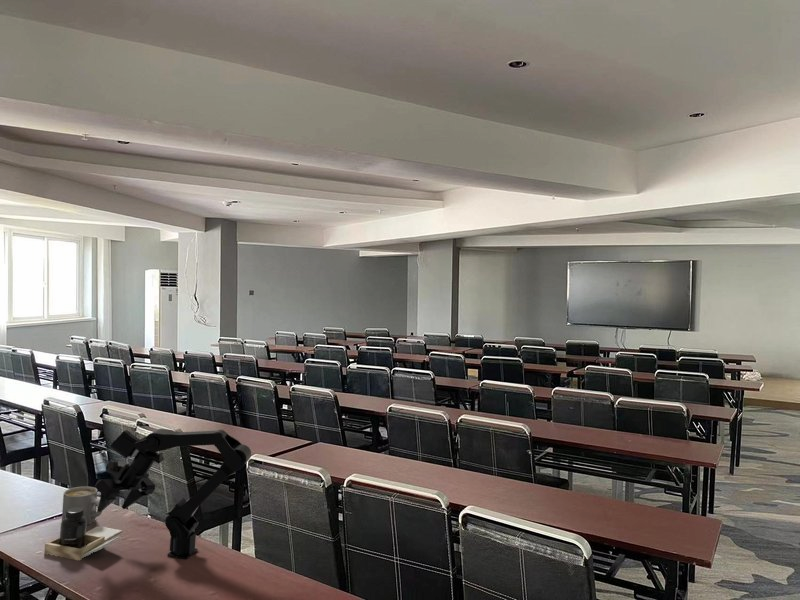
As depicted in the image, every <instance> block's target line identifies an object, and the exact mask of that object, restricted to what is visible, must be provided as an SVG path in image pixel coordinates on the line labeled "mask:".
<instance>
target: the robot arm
mask: <svg viewBox="0 0 800 600" xmlns="http://www.w3.org/2000/svg"><path fill="white" fill-rule="evenodd" d="M193 446H194V447H195V446H197V447H198V446H200V447H201V446H215V448H216V449H217V451H218V452H219V453H220V454H221V456H222V457H223V458H224V460H223V461H222V463H221V465H220V467H219V468H218V469H217V470H216V471H215V472H214V473H213V474H212V475H211V476H210V478H209V479H207V480H206V481H205V483H203V484H202V486H201V487H199V489H198V490H196V492H195V493H194V494H193V495H192V496H190V497H189V498H188V499H185V497H182V498H181V499H180V500H179V501H178V502H177V503H176V504H175V505H174V506H173V507H172V508H171V509H170V510H169V511H168V512H167V513H166V515H167V516H166V517H165V520H164V522H165V527H166V528H167V530H168V532H169V535H170V539H169V552H168V553H167V557H172V558H176V559H177V558H179V559H183V560H186V559H187V560H188V558H191V556H193V555H194V554H195V553H197V552H198V548H196V540H197V539H196V538H197V532H195V531H194V530H195V529H197V527H198V525H199V521H198V519H197V518H196V517H195V515H194V514H195V513H196V511H197V510H198V508H199V507H200V506H201V504H203V502H205V501H206V500H207V498H208V497H209V496H211V494H212V493H213V492H214V491H215V490H216V489H217V488H218V487H219V486H221V484H223V482H224V481H225V480H227V478H229V476H231V475H233V474H235V473H236V472H237V471H239V470H240V469H242V468H243V467H244V466H245V465H246V464H247V462H249V460H250V459H251V457H252V451H251V449H250V447H249V446H248V445H246V444H243V443H242V442H240V441H239V439H236V438H234V437H233V436H231V435H230V434H228V432H226V431H225V430H224V429H217V430H201V431H200V430H199V431H175V430H172V429H167V428H159V429H156V430H153V432H151V433H149V434H148V435H146V436H144V437H141V438H139V437H137V436H135V434H133V433H132V432H131V431H129V430H127V429H124V430H123V431H122V432H121V434H119V436H117V437H116V439H114V440H113V442H112V443H111V445H110V446H109V449H111V451H113V452H115V453H117V454H118V455H120V456H121V457H123V458H124V459H128V458H129V457H130V458H131V459H132V460H131V462H130V463H127V462H124V461H116V460H109V461H108V462H107V464H106V465H105V471H106V472H107V473H108V474H112V475H115V479H116V480H117V481H118V482H119V483H116V482H115V480H113V478H102V479H98V480H97V482H96V484H95V485H94V488H96V489H97V491H98V492H99V493H100V499H99V500H100V502H99V506H98V508H97V509H98V511H99V512H103V511H104V510H106V509H107V507H109V506H110V505H111V504H112V503H113V502H114V501H115V500H116V499H117V498H116V497H118V496H119V495H120V494H121V493H120V492H124V491H129V493H128V495H127V496H126V498H125V500H124V502H123V503H122V506H121V509H123V510H126V509H127V508H129V507H130V506H132V505H134V504H135V503H137V502H138V501H141V500H142V499H144V498H145V497H148V496H149V495H153V493H154V492H155V490H156V484H155V483H154V482H153V481H152V480H151V478H150V477H149V476H150V474H149V471H150V470H151V468H152V467H153V465H154V464H155V463H156V464H161V463H163V462H164V461H165V457H164V456H163V455H164V454H163V451H166V450H169V449H172V448H176V447H177V448H178V447H193ZM133 457H134V458H133ZM196 551H197V552H196Z"/></svg>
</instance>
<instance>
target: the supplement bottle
mask: <svg viewBox="0 0 800 600" xmlns="http://www.w3.org/2000/svg"><path fill="white" fill-rule="evenodd" d="M83 516H84V508H81V507H73V508H69V509H67V510H66V515H65V517H66V518H65V519H64V520H63V521H62V520H61V522H60V530H59V531H60V532H59V537H60V541H59V545H63V546H68V547H73V548H78V549H80V548H82V547H84V546H86V544H85V538H86V532H87V527H88V525H87V520H86V518H85V517H83Z"/></svg>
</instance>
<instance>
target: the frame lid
mask: <svg viewBox="0 0 800 600" xmlns="http://www.w3.org/2000/svg"><path fill="white" fill-rule="evenodd" d="M121 538H123V536H122V535H119V536H117V537H115V538H112V539H111V540H107V541H105V542H104V544H102V545H100V546H98V547H96V548H94V549H93V550H91V551H89V552H87V553H85V554H84V555H82V556H81V558H83V557H85V556H87V555H88V556H90V555H92V554H94V553H95V552H98V551H100V550H102V549H104V548H105V547H107V546H109V545H111V544H113V543H114V542H116V541H118V540H120V539H121ZM93 552H94V553H93ZM91 553H92V554H91ZM89 554H90V555H89ZM88 556H87V557H88ZM85 558H86V557H85ZM83 559H84V558H83Z"/></svg>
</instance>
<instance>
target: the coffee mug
mask: <svg viewBox="0 0 800 600" xmlns="http://www.w3.org/2000/svg"><path fill="white" fill-rule="evenodd" d="M99 502H100V499H99V498H98V489H97V488H96V487H95V486H77V487H75V486H74V487H71V488H68V489H66V490H65V491H63V498H62V510H61V513H62V514H61V522H62V521H63V520H64V519H65V518H66V517H65V515H66V510H67V509H69V508H73V507H81V508H84V516H83V517H85V518H86V520H87V526H88V524H89V525H91V524H93V523H94V522H95V521H96V520H95V519H96V518H97V517H100V516H101V514H102V512H103V511H102V512H99V511H98V506H99ZM92 522H93V523H92Z"/></svg>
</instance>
